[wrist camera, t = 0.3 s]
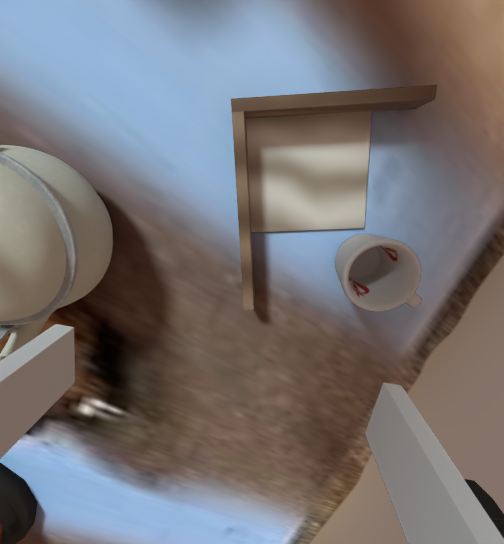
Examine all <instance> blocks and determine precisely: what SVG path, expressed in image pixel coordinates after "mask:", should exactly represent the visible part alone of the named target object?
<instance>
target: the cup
mask: <svg viewBox="0 0 504 544" xmlns="http://www.w3.org/2000/svg"><path fill="white" fill-rule="evenodd" d="M335 268H336V272H337V274H338V277H339V279H340V282H341V284H342V287H343V289H344V292H345V294H346V295H347V297H348V298H349V300H350V301H351V302H352V303H354V304H355V305H356V306H358V307H360V308H362V309H364V310H368V311H373V312H382V311H388V310H391V309H394V308H396V307H398V306H400V305H402V304H403V303H407V304H408V305H410V306H411V307H417V306H418V305H419V304H420V303H421V301H422V298H421V297H420V296H419V295H417V294H416V293H415V291H416V289H417V287H418V285H419V282H420V277H421V266H420V262H419V259H418V257H417V255H416V254H415V252H414V251H413V250H412V249H411V248H410V247H409V246H407V245H406V244H404V243H402V242H400V241H397V240H394V239H389V238H385V237H380V236H376V235H370V234H360V235H356V236H353V237H351V238H349V239H347V240H346V241H345V242H344V243H343V244H342V245H341V246H340V247H339V249H338V251H337V253H336V257H335Z"/></svg>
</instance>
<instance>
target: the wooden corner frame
mask: <svg viewBox="0 0 504 544" xmlns="http://www.w3.org/2000/svg"><path fill="white" fill-rule="evenodd" d="M436 88H437V85H429V86H414V87H399V88H384V89H369V90H355V91H340V92H325V93H310V94H295V95H280V96H266V97H251V98H236V99H231V106H232V122H233V138H234V155H235V171H236V187H237V203H238V220H239V236H240V252H241V269H242V285H243V301H244V310H254V301H255V289H254V269H253V248H252V232H273V231H298V230H323V229H348V228H364V223H365V208H366V193H367V178H368V163H369V148H370V133H371V118H372V111H384V110H400V109H415V108H417V107H420V106H422V105H424V104H426V103H428V102H430V101H432V100H434V99H435V96H436Z"/></svg>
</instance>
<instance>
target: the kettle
mask: <svg viewBox="0 0 504 544" xmlns="http://www.w3.org/2000/svg"><path fill="white" fill-rule="evenodd" d="M112 250H113V230H112V223H111V219H110V216H109V213H108V211H107V209H106V206H105V205H104V203H103V201H102V200H101V198H100V197H99V196H98V194H97V193H96V191H95V190H94V189H93V187H92V186H91V185H90V184H89V183H88V182H87V181H86V180H85V179H84V178H83V177H82V176H81V175H80V174H79V173H78V172H77V171H75V170H74V169H73V168H71V167H70V166H69V165H67V164H66V163H64V162H62V161H61V160H59V159H57V158H55V157H53V156H51V155H49V154H46V153H43V152H41V151H37V150H34V149H30V148H26V147H20V146H10V145H0V325H1V326H0V342H1V341H2V340H3V339H4V338H5V336H6V335H7V334H8V333H11V336H10V338H9V340H8V342H7V344H6V346H5V347H4V349H3V351H2V352H1V354H0V361H1V360H3V359H4V358H6V357H7V356H9V355H10V354H12V353H13V352H15V351H16V350H18V349H19V348H21V347H22V346H24V345H25V344H27V343H28V342H30V341H31V340H33V339H34V338H35V337H36V336H37V335H38V333H39V332H40V330H41V329H42V328H43V326H44V324H45V323H46V321H47V320H48V318H49V316H50V315H51V313H53V312H54V311H55V310H56V309H58V308H61V307H63V306H66V305H68V304H71V303H73V302H75V301H77V300H79V299H80V298H82V297H84V296H85V295H87V294H88V293H89V292H90V291H92V290H93V289H94V288H95V287H96V286H97V284H98V283H99V282H100V281H101V279H102V278H103V276H104V274H105V273H106V271H107V268H108V266H109V263H110V260H111V256H112Z"/></svg>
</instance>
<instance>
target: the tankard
mask: <svg viewBox="0 0 504 544" xmlns="http://www.w3.org/2000/svg"><path fill="white" fill-rule="evenodd" d="M36 508H37V501H36V499H35V498H34V496H33V494H32V492H31V491H30V489H29V487H28V485H27V484H26V482H25V480H24V479H22V478H21V477H20V476H18V475H17V474H15V473H14V472H13V471H11V470H10V469H8V468H7V467H6V466H4V465H3V464H2V463H0V544H15V543H17V542H18V541H20V540H21V539H22V538H24V537H25V535H26V534H27V532H28V531H29V529H30V528H31V526H32V525H33V523H34V521H35V514H36Z"/></svg>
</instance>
